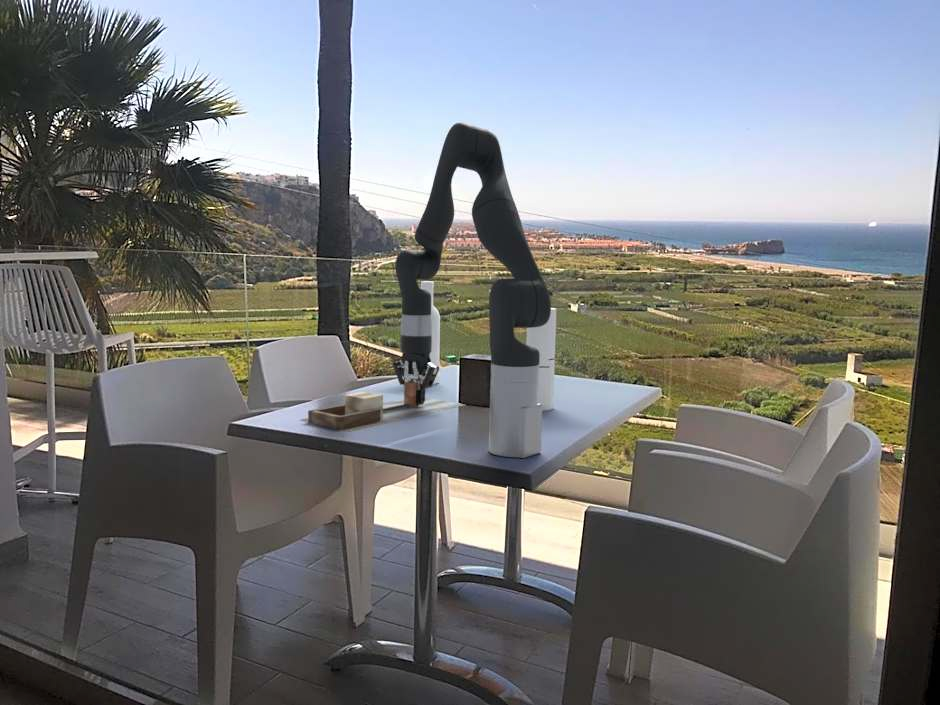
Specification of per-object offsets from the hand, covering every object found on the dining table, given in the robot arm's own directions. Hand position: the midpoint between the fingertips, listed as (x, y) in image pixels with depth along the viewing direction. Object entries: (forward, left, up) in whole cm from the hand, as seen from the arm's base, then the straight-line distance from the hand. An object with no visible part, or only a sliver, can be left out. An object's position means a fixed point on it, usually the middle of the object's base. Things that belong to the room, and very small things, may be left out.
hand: (415, 403), depth 182 cm
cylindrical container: (-21, -23, -2) cm, 31 cm away
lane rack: (0, +10, -1) cm, 10 cm away
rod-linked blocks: (0, +10, -1) cm, 10 cm away
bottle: (+24, -31, -2) cm, 39 cm away
